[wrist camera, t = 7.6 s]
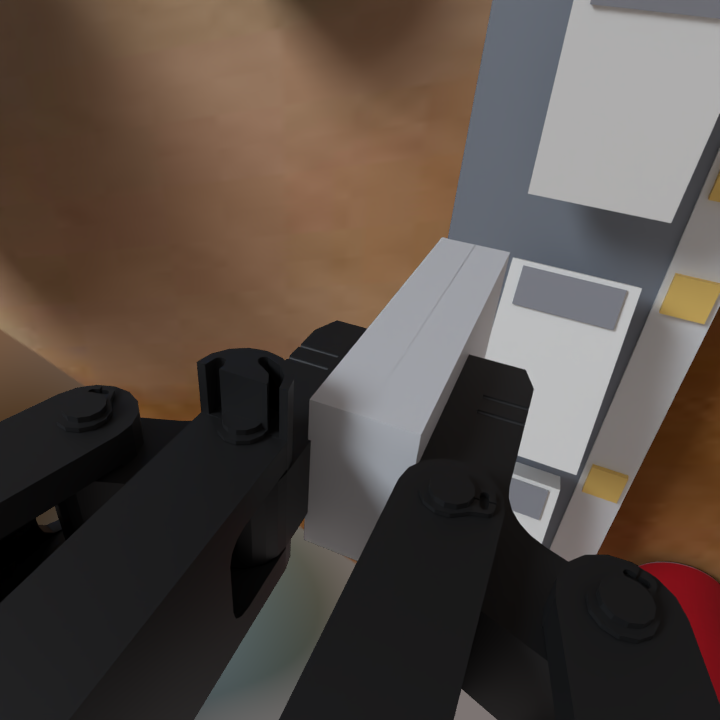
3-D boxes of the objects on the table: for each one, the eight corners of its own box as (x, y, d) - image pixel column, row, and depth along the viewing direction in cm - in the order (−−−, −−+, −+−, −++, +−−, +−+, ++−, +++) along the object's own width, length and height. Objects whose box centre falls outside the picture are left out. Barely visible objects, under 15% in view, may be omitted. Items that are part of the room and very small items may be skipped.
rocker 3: (467, 424, 27) (460, 437, 25) (516, 257, 25) (512, 257, 23) (575, 459, 26) (576, 476, 24) (636, 286, 24) (642, 288, 22)
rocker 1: (429, 571, 33) (421, 590, 31) (467, 445, 31) (461, 456, 29) (515, 606, 32) (512, 629, 30) (560, 476, 30) (560, 491, 28)
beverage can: (612, 604, 40) (602, 788, 30) (629, 541, 37) (624, 724, 27) (714, 634, 38) (738, 842, 28) (742, 570, 35) (779, 780, 25)
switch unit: (415, 471, 41) (384, 534, 36) (530, -91, 24) (500, -119, 19) (587, 534, 38) (578, 612, 33) (868, -68, 20) (942, -95, 15)
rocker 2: (538, 171, 23) (527, 195, 21) (600, -83, 17) (590, -74, 16) (673, 197, 21) (670, 225, 20) (787, -70, 16) (796, -59, 14)
